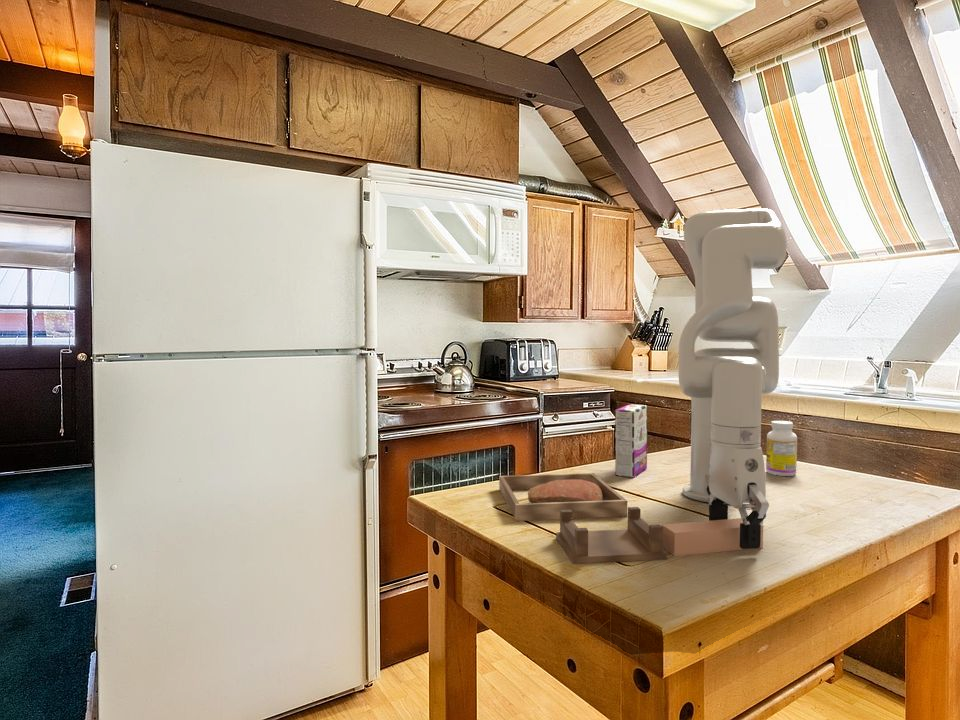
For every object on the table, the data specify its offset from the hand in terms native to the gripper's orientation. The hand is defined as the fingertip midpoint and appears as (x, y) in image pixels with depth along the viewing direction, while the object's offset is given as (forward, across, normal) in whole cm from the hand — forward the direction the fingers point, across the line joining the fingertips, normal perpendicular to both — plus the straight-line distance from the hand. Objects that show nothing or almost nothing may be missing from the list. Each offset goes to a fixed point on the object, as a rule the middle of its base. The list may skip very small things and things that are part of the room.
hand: (733, 537), depth 97 cm
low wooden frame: (+1, +27, +23) cm, 35 cm away
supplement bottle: (+1, +43, -37) cm, 57 cm away
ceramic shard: (+2, +26, +22) cm, 34 cm away
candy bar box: (+1, +49, -1) cm, 49 cm away
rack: (+1, +1, +21) cm, 21 cm away
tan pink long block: (+2, 0, +4) cm, 4 cm away
